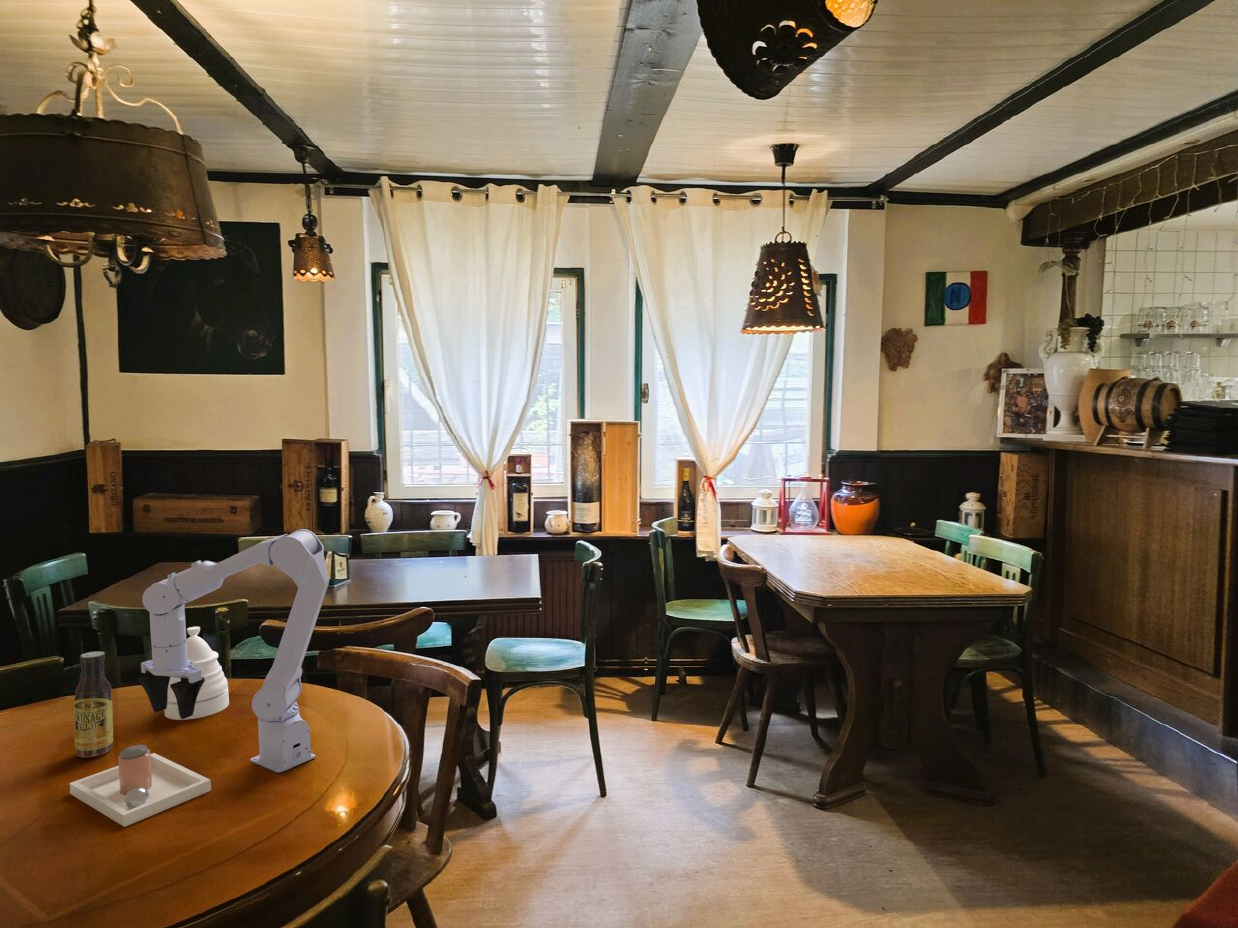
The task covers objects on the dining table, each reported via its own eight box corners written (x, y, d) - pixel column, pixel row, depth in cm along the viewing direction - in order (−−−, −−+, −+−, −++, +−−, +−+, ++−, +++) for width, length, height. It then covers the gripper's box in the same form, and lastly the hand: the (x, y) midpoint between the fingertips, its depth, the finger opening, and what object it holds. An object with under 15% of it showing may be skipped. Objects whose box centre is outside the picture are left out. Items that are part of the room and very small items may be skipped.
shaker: (158, 782, 139) (156, 744, 139) (138, 795, 135) (135, 756, 134) (134, 780, 140) (132, 743, 140) (113, 794, 135) (110, 755, 135)
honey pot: (168, 703, 179) (163, 626, 178) (230, 694, 184) (226, 619, 183) (160, 723, 167) (155, 641, 166) (227, 713, 173) (223, 634, 171)
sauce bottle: (70, 761, 150) (63, 660, 148) (83, 748, 156) (76, 651, 154) (109, 757, 151) (102, 657, 150) (120, 743, 157) (114, 647, 156)
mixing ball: (153, 806, 131) (152, 786, 131) (131, 815, 128) (130, 794, 128) (143, 800, 133) (142, 780, 133) (121, 809, 130) (120, 789, 130)
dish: (211, 793, 136) (210, 779, 136) (124, 830, 125) (123, 815, 124) (154, 765, 147) (154, 752, 147) (70, 796, 136) (69, 782, 136)
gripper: (214, 641, 147) (218, 711, 148) (164, 633, 153) (168, 700, 154) (179, 652, 140) (183, 725, 141) (128, 643, 146) (132, 713, 147)
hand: (173, 713), depth 147 cm, fingers open, 7 cm apart
